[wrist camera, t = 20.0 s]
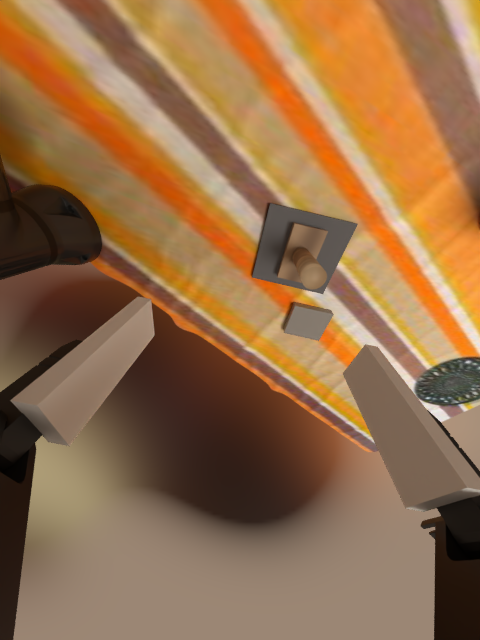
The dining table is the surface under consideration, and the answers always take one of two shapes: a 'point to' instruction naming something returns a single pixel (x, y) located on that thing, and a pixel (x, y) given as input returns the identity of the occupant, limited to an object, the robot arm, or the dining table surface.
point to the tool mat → (277, 238)
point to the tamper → (303, 256)
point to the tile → (307, 321)
